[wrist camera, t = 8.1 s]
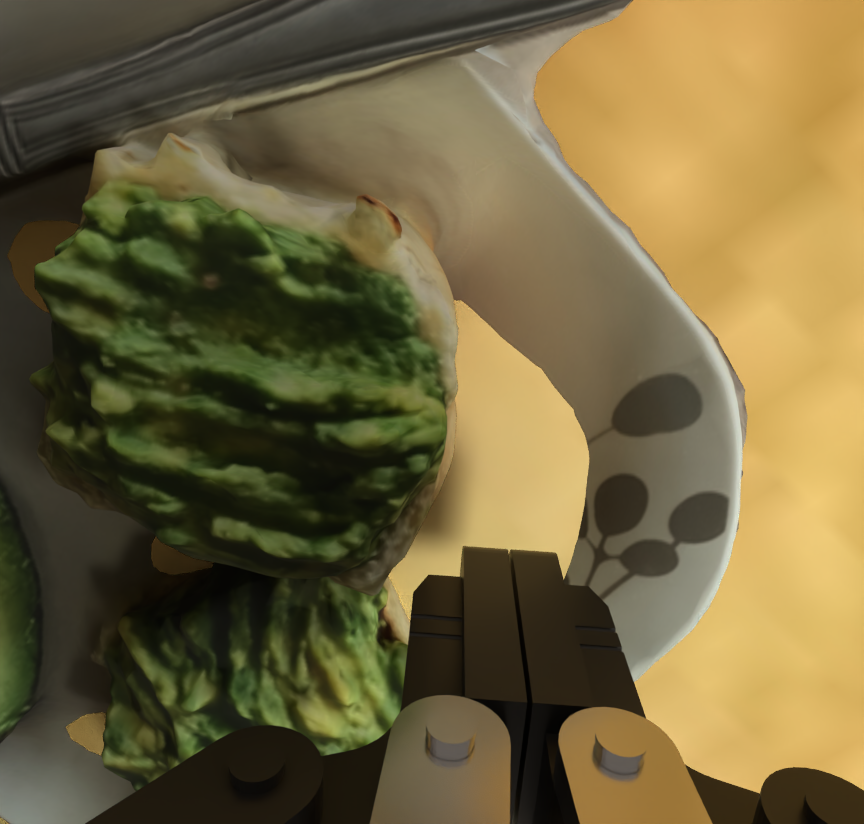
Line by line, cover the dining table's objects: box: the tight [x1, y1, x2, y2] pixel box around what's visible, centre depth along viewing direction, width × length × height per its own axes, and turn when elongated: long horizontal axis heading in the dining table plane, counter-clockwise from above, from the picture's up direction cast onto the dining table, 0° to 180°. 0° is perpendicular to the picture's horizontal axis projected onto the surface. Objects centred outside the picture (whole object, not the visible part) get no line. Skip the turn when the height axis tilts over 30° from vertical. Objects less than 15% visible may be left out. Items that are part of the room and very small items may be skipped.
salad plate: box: [0, 0, 747, 824], centre depth 11 cm, size 19×18×5 cm
